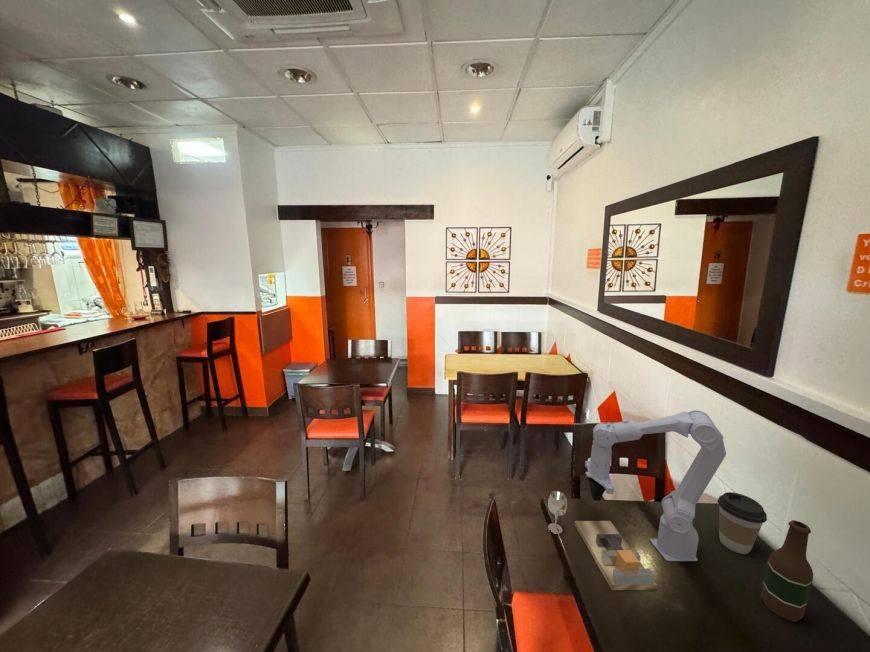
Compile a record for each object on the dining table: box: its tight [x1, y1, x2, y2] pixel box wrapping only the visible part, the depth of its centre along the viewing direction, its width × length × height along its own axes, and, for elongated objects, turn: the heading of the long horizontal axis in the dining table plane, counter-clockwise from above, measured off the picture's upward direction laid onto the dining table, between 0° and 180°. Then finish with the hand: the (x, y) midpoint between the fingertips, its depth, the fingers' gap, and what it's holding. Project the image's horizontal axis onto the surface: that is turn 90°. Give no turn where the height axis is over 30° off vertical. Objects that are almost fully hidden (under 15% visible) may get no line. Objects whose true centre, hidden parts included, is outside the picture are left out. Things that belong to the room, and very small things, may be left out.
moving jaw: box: [596, 533, 641, 565], centre depth 100 cm, size 10×8×3 cm
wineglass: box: [547, 490, 568, 535], centre depth 110 cm, size 6×6×12 cm
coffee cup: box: [716, 491, 768, 555], centre depth 105 cm, size 11×11×15 cm
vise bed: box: [574, 520, 658, 591], centre depth 102 cm, size 12×23×2 cm, turn 2°
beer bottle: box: [760, 519, 814, 623], centre depth 84 cm, size 8×8×24 cm
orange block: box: [615, 549, 641, 569], centre depth 94 cm, size 4×4×5 cm
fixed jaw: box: [612, 568, 656, 585], centre depth 91 cm, size 10×2×3 cm, turn 92°
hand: (595, 499), depth 111 cm, fingers closed
